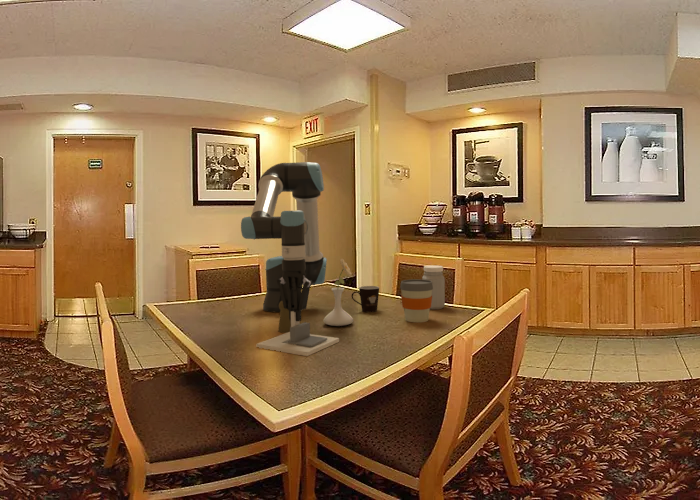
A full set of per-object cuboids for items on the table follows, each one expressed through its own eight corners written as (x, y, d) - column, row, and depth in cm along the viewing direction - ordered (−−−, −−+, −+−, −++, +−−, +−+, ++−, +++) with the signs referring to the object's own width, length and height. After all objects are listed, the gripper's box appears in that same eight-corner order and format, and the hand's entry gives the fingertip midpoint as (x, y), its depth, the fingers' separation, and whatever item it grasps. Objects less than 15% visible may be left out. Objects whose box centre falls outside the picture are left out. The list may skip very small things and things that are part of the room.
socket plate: (256, 347, 161) (256, 343, 161) (290, 334, 176) (290, 331, 176) (307, 356, 151) (307, 352, 151) (339, 341, 166) (339, 338, 166)
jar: (419, 309, 216) (419, 267, 214) (425, 304, 225) (424, 264, 223) (442, 310, 212) (442, 268, 211) (446, 306, 221) (446, 265, 220)
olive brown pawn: (278, 328, 185) (277, 299, 184) (295, 328, 186) (294, 298, 185) (277, 333, 179) (277, 302, 178) (294, 332, 180) (294, 302, 179)
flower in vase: (343, 329, 182) (341, 261, 180) (317, 326, 188) (315, 259, 186) (361, 322, 193) (360, 257, 191) (336, 319, 199) (335, 256, 197)
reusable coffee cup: (412, 324, 188) (412, 285, 186) (394, 318, 199) (394, 281, 197) (439, 320, 193) (439, 282, 192) (420, 314, 204) (420, 278, 203)
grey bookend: (288, 343, 160) (287, 327, 160) (304, 336, 168) (304, 321, 167) (311, 346, 155) (310, 330, 155) (327, 339, 163) (326, 324, 163)
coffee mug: (380, 308, 218) (379, 285, 217) (379, 312, 210) (378, 289, 209) (353, 308, 219) (353, 285, 218) (351, 312, 211) (351, 289, 210)
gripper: (270, 258, 162) (272, 330, 164) (302, 260, 155) (304, 335, 157) (285, 256, 168) (286, 326, 170) (316, 258, 161) (318, 330, 163)
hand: (295, 330), depth 164 cm, fingers closed
